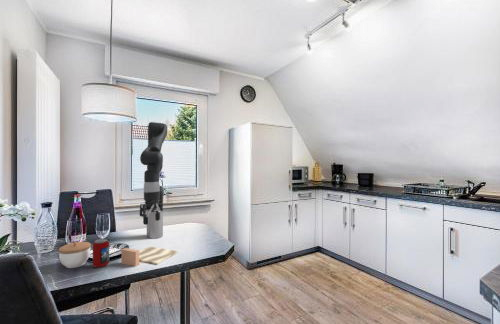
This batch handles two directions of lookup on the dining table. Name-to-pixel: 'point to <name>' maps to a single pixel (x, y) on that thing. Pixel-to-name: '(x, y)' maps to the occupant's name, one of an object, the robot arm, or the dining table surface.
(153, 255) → the striped cloth
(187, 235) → the dining table surface
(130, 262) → the tile
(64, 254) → the lidded bowl
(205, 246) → the dining table surface
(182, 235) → the dining table surface
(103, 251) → the beverage can
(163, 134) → the robot arm
